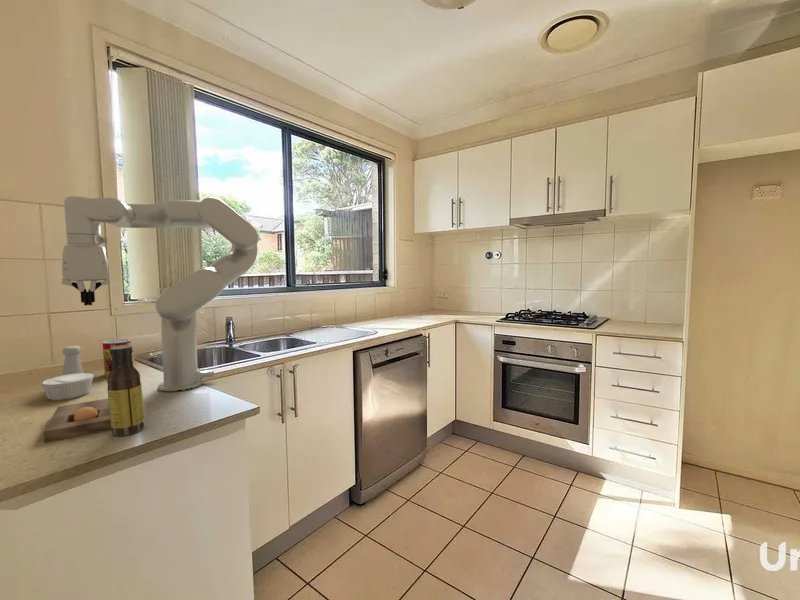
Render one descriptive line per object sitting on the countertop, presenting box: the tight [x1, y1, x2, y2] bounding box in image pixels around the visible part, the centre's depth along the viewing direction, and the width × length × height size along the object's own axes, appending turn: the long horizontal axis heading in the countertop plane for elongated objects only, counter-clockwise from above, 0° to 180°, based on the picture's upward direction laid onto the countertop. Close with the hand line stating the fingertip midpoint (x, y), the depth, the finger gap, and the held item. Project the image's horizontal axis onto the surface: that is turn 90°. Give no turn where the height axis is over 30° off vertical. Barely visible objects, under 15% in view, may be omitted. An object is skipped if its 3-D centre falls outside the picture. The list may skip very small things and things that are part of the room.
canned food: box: [102, 338, 132, 378], centre depth 131 cm, size 8×8×12 cm
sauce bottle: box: [106, 345, 145, 437], centre depth 83 cm, size 6×6×20 cm
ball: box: [74, 407, 98, 421], centre depth 87 cm, size 4×4×4 cm
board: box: [43, 398, 112, 443], centre depth 90 cm, size 14×18×2 cm
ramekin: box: [41, 372, 94, 401], centre depth 108 cm, size 11×11×5 cm
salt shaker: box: [61, 345, 85, 376], centre depth 116 cm, size 6×6×13 cm
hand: (88, 304), depth 106 cm, fingers closed
